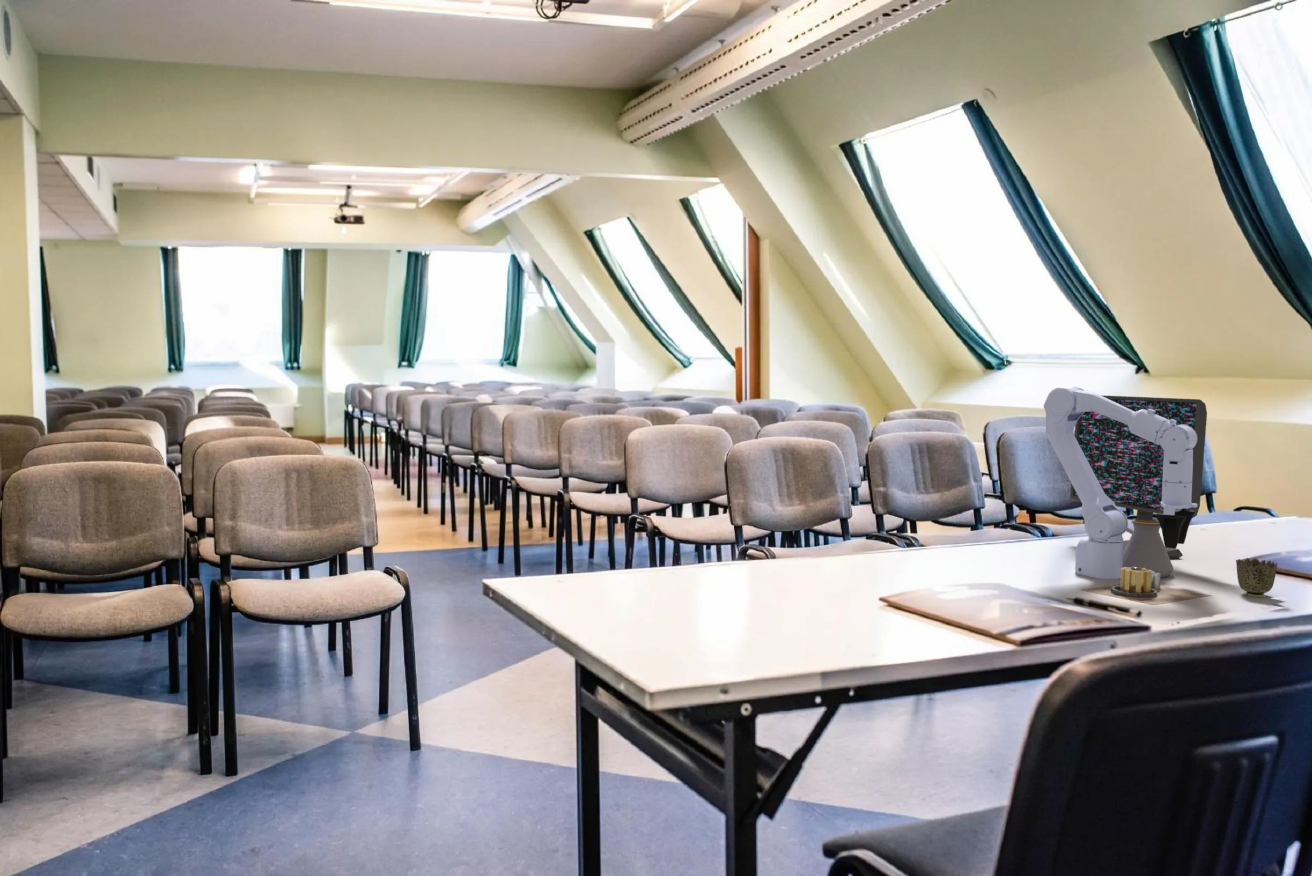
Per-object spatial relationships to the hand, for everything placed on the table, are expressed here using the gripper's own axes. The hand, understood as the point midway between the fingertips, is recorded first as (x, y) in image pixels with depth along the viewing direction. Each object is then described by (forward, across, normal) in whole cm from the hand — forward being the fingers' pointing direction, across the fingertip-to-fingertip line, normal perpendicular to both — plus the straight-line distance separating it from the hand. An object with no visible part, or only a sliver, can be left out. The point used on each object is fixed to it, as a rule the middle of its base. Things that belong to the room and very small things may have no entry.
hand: (1174, 545), depth 241 cm
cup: (+10, -1, -16) cm, 19 cm away
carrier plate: (+9, -13, +3) cm, 16 cm away
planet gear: (+8, -16, +4) cm, 18 cm away
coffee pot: (+10, +12, +12) cm, 20 cm away
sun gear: (+8, -7, +5) cm, 12 cm away
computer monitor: (+10, +44, +19) cm, 48 cm away
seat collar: (+8, -16, +4) cm, 18 cm away
